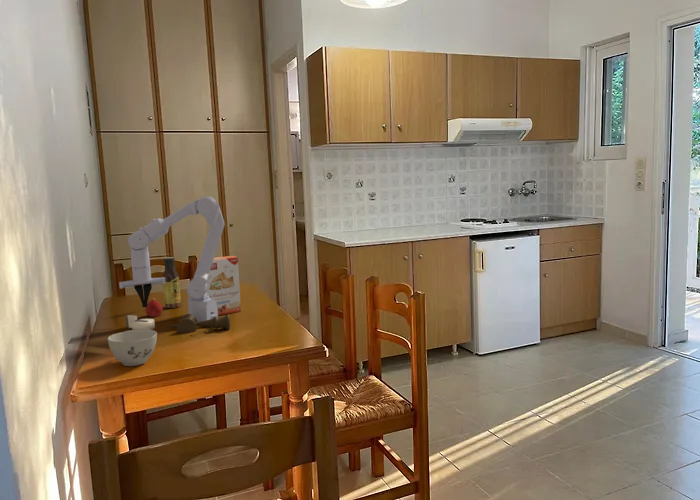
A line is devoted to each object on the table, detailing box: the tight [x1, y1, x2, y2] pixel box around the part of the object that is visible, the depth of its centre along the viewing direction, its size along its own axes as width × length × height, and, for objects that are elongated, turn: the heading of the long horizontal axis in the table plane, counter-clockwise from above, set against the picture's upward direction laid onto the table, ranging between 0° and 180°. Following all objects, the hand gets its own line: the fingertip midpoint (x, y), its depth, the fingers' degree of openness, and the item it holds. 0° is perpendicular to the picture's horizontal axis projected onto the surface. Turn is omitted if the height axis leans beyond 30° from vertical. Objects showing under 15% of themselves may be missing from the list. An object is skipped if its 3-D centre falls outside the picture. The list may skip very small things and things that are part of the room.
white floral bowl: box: [107, 329, 158, 367], centre depth 151 cm, size 15×12×8 cm
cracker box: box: [196, 255, 242, 316], centre depth 203 cm, size 14×6×21 cm, turn 126°
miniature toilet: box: [125, 314, 156, 331], centre depth 182 cm, size 10×7×4 cm
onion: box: [145, 297, 163, 318], centre depth 199 cm, size 6×6×8 cm
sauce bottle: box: [162, 256, 182, 309], centre depth 218 cm, size 6×6×20 cm
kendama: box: [166, 313, 231, 337], centre depth 180 cm, size 6×10×20 cm
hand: (144, 306), depth 186 cm, fingers closed
